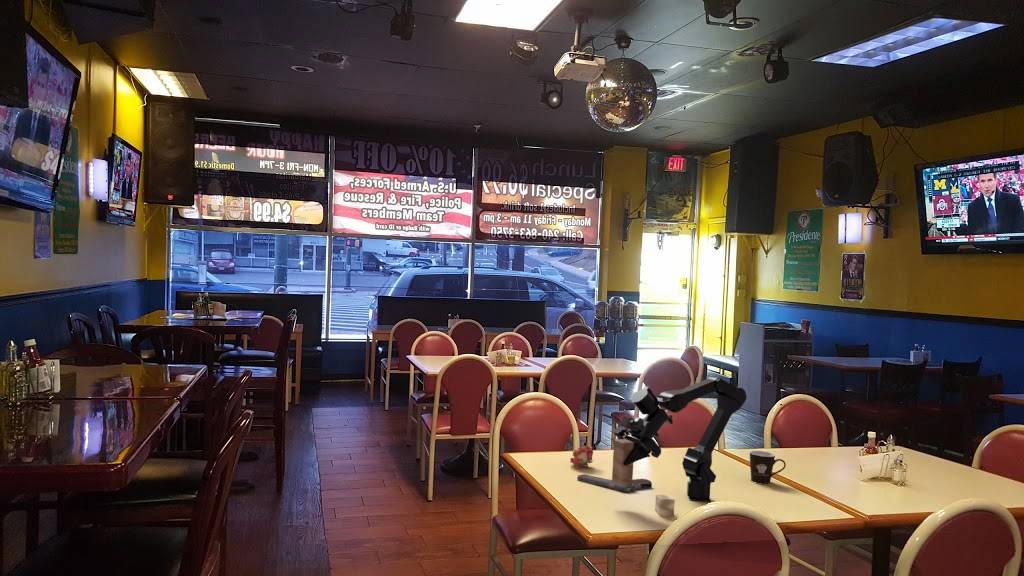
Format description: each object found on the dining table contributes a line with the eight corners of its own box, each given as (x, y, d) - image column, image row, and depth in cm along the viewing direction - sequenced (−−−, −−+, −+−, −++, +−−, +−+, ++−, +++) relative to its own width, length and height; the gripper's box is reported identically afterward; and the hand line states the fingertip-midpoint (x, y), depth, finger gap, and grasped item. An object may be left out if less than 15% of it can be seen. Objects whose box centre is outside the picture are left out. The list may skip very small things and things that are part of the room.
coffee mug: (743, 480, 260) (745, 452, 260) (754, 476, 266) (755, 449, 266) (775, 488, 252) (777, 459, 252) (785, 484, 258) (787, 456, 258)
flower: (603, 463, 267) (594, 443, 271) (592, 462, 260) (583, 441, 263) (581, 474, 271) (573, 454, 274) (570, 474, 263) (561, 453, 266)
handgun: (598, 468, 259) (576, 474, 249) (654, 480, 245) (633, 487, 234) (598, 475, 259) (575, 482, 249) (654, 488, 245) (632, 495, 234)
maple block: (669, 511, 220) (670, 495, 220) (673, 516, 215) (674, 499, 215) (654, 511, 219) (655, 494, 219) (659, 516, 215) (660, 499, 215)
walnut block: (622, 481, 225) (625, 439, 225) (632, 485, 221) (634, 442, 220) (611, 482, 223) (614, 439, 223) (621, 486, 219) (623, 443, 219)
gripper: (619, 401, 232) (588, 437, 227) (655, 412, 215) (621, 452, 210) (639, 425, 235) (608, 461, 231) (675, 437, 218) (642, 477, 214)
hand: (619, 462), depth 221 cm, fingers closed on walnut block, 5 cm apart
